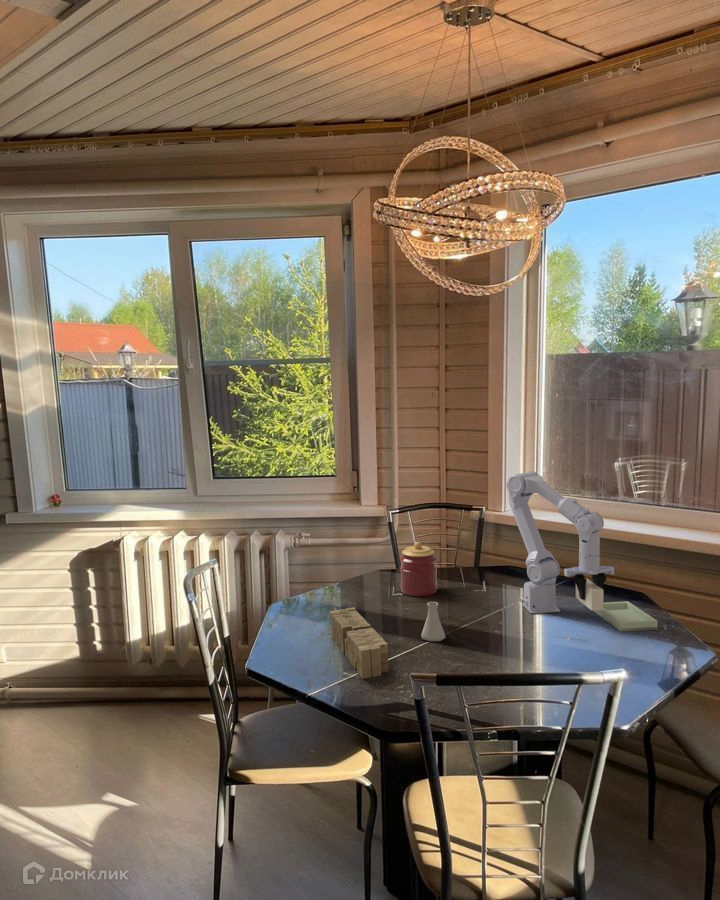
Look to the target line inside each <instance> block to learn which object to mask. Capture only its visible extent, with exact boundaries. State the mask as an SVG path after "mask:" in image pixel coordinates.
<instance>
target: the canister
mask: <svg viewBox="0 0 720 900" xmlns="http://www.w3.org/2000/svg"><path fill="white" fill-rule="evenodd" d="M401 554H402V555H401V556H400V557H399V560H400V562H401V564H400V565H401V566H400V567H399V570H400V590H401V593H402V594H404V595H406V596H411V597H428V596H433V595H434V594H436V593H437V592H438V577H437V575H438V574H437V573H438V572H437V570H438V566H437V565H436V561H437V556H435V555H434V554H435V550H433V549H432V548H431V547H429V546H428V545H427V546H426V545H422V543H421V542H420V541H416V542H415V543H414V545H411V546H408V547H406V548H405V549H404V550H402V551H401Z"/></svg>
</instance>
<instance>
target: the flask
mask: <svg viewBox="0 0 720 900" xmlns="http://www.w3.org/2000/svg"><path fill="white" fill-rule="evenodd" d="M426 604H427V607H428V609H427V610H428V611H427V617H426V620H425V622H424V625H423V629H422V632H421V634H420V636H421V637H420V638H421V640H425V641H427V642H441V641H443V640H444V639H446V638H447V637H446V634H445V631H444V628H443V626H442V622H441V619H440V617H439V612H438V607H439V602H437V601H429V602H426Z"/></svg>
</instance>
